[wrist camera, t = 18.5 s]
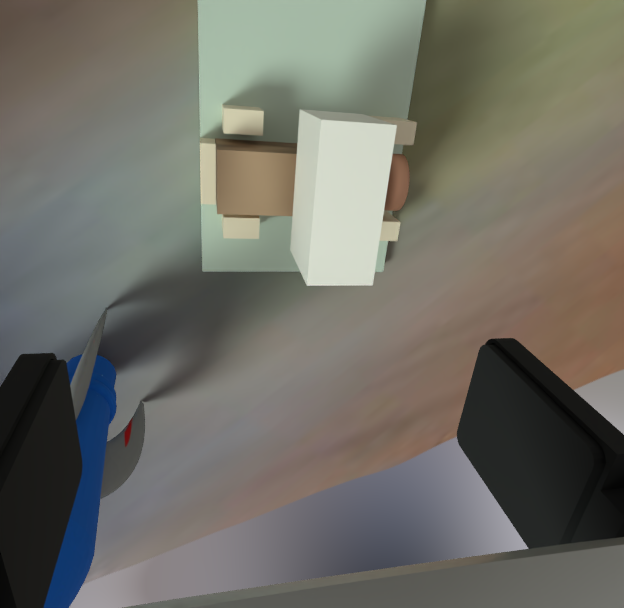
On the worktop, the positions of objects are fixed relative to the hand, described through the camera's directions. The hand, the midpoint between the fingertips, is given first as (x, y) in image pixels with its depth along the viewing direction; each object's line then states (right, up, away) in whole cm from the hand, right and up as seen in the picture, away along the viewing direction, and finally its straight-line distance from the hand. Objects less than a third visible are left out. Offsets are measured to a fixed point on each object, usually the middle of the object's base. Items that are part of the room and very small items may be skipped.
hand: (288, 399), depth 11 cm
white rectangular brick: (+1, +10, +21) cm, 23 cm away
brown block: (0, +12, +25) cm, 28 cm away
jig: (0, +16, +24) cm, 29 cm away
